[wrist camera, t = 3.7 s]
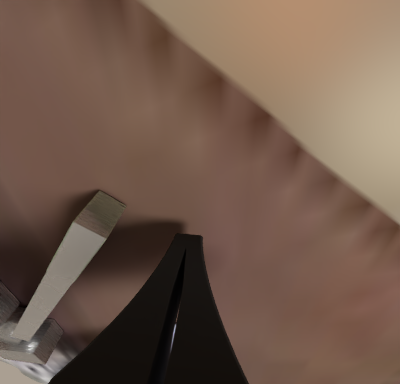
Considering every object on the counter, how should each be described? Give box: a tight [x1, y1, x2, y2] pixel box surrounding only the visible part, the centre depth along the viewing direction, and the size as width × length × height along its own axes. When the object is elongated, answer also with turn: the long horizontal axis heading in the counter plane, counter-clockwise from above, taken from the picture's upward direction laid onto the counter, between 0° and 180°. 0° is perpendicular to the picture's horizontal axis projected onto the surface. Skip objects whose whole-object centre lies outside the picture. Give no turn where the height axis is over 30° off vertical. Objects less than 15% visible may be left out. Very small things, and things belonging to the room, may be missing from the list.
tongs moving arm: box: [0, 191, 126, 345], centre depth 15 cm, size 21×3×2 cm, turn 143°
